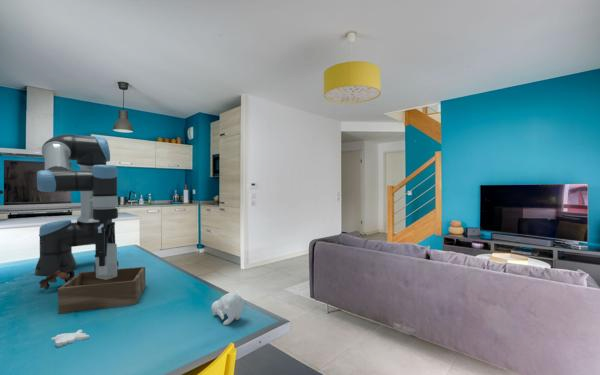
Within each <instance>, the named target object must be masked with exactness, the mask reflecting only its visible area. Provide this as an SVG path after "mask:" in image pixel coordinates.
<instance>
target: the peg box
mask: <svg viewBox="0 0 600 375" xmlns="http://www.w3.org/2000/svg"><path fill="white" fill-rule="evenodd" d="M146 283H147V282H146V266H138V267H128V268H127V267H125V268H119V269H117V277H114V278H111V279H107V280H104V279H100V278H96V271H94V270H91V271H80V272H79V273H78V274H75V275H74V277H73V278H72V279H71V280H69V281H68V282H66V283H64V284H62V285H61V286H60V287H59V288H57V304H58V305H57V306H58V308H57V310H58V311H57V312H58V315H59V314H60V315H61V314H67V313H74V312H75V313H76V312H82V311H84V312H85V311H93V310H100V309H109V308H117V307H124V306H125V307H126V306H133V305H137V303H138V301H139V300H140V298H141V296H142V294H143V292H144V291H145V288H146V286H147V284H146Z"/></svg>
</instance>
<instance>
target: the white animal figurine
mask: <svg viewBox="0 0 600 375" xmlns="http://www.w3.org/2000/svg"><path fill="white" fill-rule="evenodd" d="M244 305H245V302H244V300H243V298H242V296H241V295H239V294H238V293H235V292H229V293H227V294H226V293H225V294H223V295H222V296H221V297H220V298H219V299H218V300H215V301H214V302H213V303H212V305H211V311H212V312H211V313H212V314H213V315H214V317H215V316H218V317H220V319H221V320H224V319H225V315H226V316H227V317H228V318H227V319H225V320H224V321H223V323H222V325H223V326H227V325H229V324H231V323H232V322H233V321H234V320H235V321H238V320H240V319H241V316H242V313H243V311H244Z"/></svg>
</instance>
